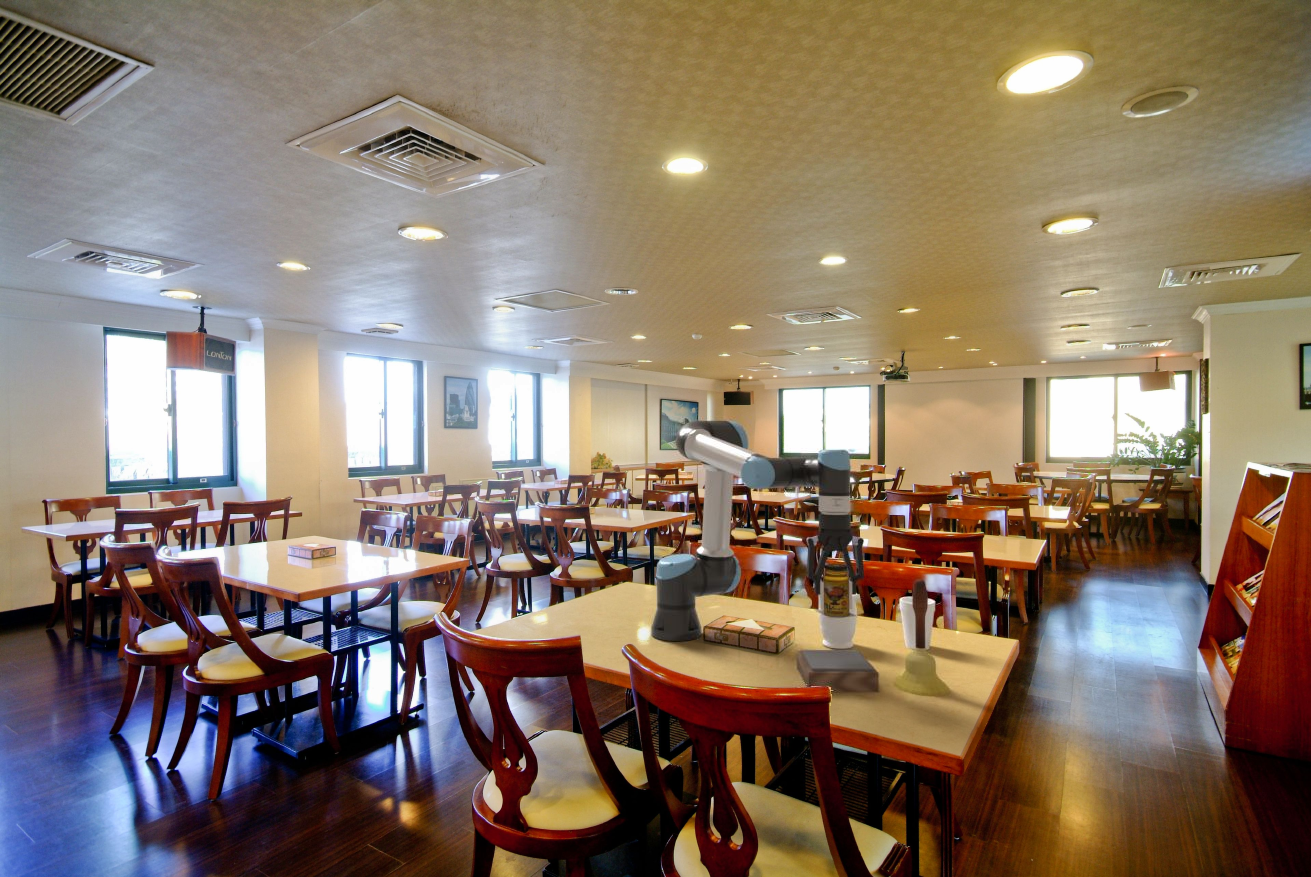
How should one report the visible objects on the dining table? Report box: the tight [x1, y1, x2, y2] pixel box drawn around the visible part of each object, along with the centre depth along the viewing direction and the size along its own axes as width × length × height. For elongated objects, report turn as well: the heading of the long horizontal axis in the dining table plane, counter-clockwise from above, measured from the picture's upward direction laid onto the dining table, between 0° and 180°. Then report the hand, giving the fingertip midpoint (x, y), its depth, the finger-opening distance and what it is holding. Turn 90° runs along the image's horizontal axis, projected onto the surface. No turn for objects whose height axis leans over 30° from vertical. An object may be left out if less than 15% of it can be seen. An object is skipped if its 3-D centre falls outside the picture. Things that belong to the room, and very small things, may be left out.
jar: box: [818, 592, 858, 650], centre depth 192 cm, size 11×10×15 cm
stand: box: [796, 649, 880, 693], centre depth 164 cm, size 16×16×5 cm
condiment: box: [814, 563, 856, 618], centre depth 164 cm, size 7×8×12 cm
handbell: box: [892, 579, 950, 697], centre depth 159 cm, size 12×12×25 cm
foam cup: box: [899, 596, 936, 651], centre depth 190 cm, size 10×9×13 cm
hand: (835, 607), depth 164 cm, fingers closed on condiment, 6 cm apart
